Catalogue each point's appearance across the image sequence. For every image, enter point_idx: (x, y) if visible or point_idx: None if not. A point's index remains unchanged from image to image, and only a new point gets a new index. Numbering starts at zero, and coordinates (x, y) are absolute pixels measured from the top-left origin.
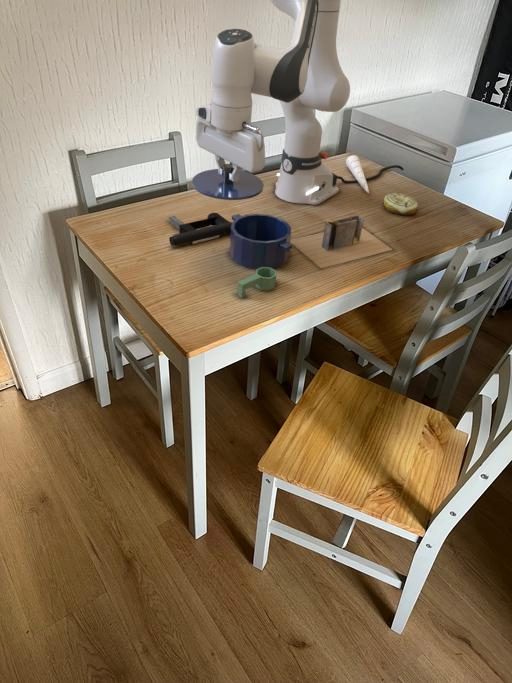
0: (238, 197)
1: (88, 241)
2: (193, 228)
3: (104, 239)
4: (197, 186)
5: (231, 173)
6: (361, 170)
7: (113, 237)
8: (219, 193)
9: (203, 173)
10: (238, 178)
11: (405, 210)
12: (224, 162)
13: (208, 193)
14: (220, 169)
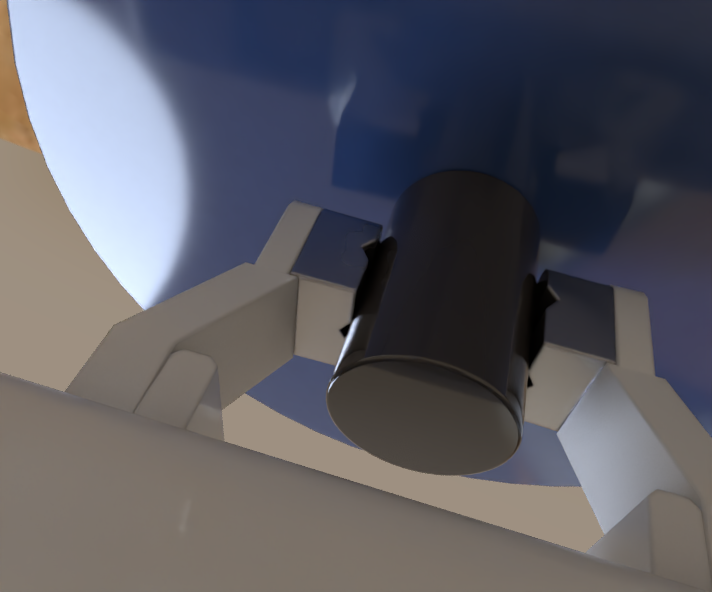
0: None
1: (18, 142)
2: None
3: (20, 99)
4: (323, 422)
5: (537, 412)
6: None
7: (15, 66)
8: (558, 453)
9: (100, 202)
10: (643, 317)
11: None
12: (241, 317)
13: (479, 474)
14: (309, 346)
